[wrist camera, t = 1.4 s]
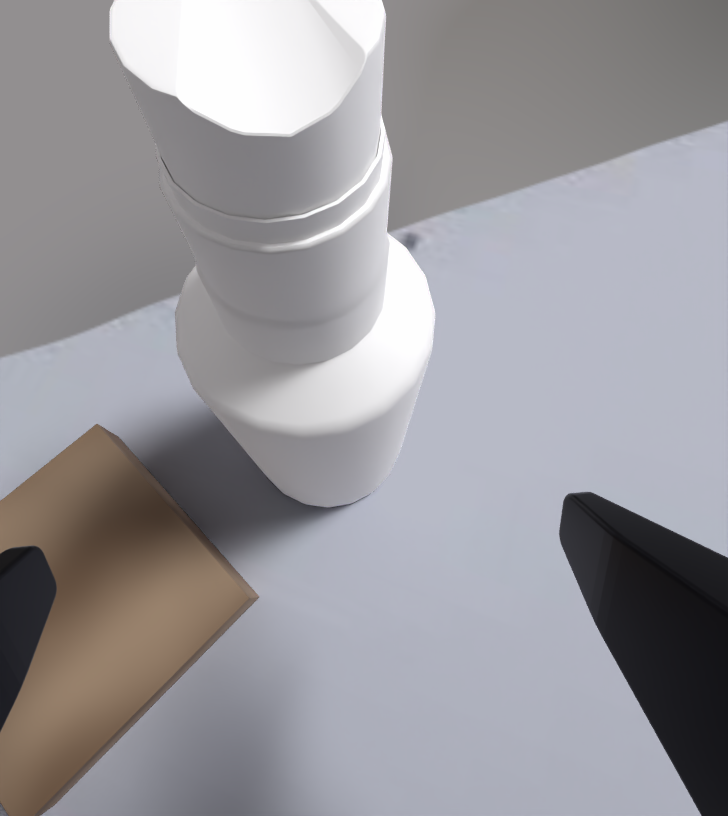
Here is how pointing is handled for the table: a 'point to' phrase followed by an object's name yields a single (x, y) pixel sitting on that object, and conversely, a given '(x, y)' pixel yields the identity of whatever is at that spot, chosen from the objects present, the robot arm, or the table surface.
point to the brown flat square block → (105, 612)
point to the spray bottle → (285, 230)
